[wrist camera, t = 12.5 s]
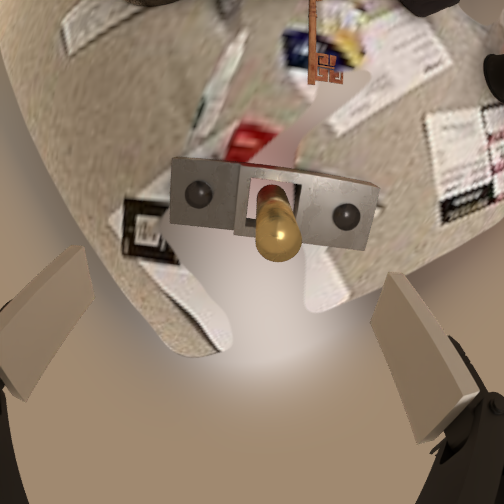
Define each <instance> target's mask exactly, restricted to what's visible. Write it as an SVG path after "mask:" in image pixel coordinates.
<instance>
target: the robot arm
mask: <svg viewBox="0 0 504 504" xmlns="http://www.w3.org/2000/svg"><path fill="white" fill-rule="evenodd" d="M125 1H127V2H129V3H131V4H134V5H140V6H157V5H163V4H168V3H171V2H175V1H178V0H125ZM94 299H95V295H94V291H93V287H92V282H91V278H90V273H89V269H88V264H87V259H86V253H85V248H84V246H76V245H71V246H69V247H68V248H67V249H66V250H65V251H64V252H63V253H61V254H60V255H59V256H58V257H57V258H56V259H54V260H53V261H52V262H51V263H50V264H49V265H48V266H47V267H46V268H45V269H43V270H42V271H41V272H40V273H39V274H38V275H37V276H36V277H35V278H34V279H33V280H32V281H31V282H30V283H28V284H27V285H26V286H25V287H24V288H23V289H22V290H21V291H20V292H19V293H18V294H17V296H15V297H14V298H13V299H12V300H10V301H9V302H7V303H6V304H5V305H4V306H3V307H2V308H1V310H0V504H29V502H28V499H27V496H26V493H25V490H24V487H23V484H22V480H21V477H20V473H19V470H18V466H17V462H16V458H15V453H14V449H13V445H12V440H11V433H10V427H9V421H8V413H7V405H6V397H5V393H4V392H3V390H2V389H3V388H4V386H6V387H7V388H8V390H9V391H10V392H11V394H12V395H13V396H15V397H16V398H18V399H20V400H22V401H24V402H27V400H28V398H29V396H30V395H31V393H32V391H33V389H34V388H35V386H36V385H37V383H38V381H39V380H40V378H41V376H42V374H43V373H44V371H45V370H46V368H47V366H48V365H49V363H50V362H51V360H52V359H53V357H54V356H55V354H56V353H57V351H58V349H59V348H60V347H61V345H62V343H63V342H64V341H65V339H66V338H67V336H68V335H69V333H70V332H71V330H72V329H73V328H74V326H75V325H76V323H77V322H78V320H79V319H80V318H81V316H82V315H83V314H84V312H85V311H86V309H87V308H88V307H89V305H90V304H91V303H92V301H93V300H94ZM370 324H371V326H372V328H373V331H374V333H375V336H376V338H377V340H378V342H379V345H380V347H381V349H382V352H383V354H384V357H385V359H386V361H387V364H388V366H389V369H390V371H391V374H392V376H393V379H394V381H395V384H396V387H397V389H398V392H399V394H400V397H401V400H402V403H403V405H404V408H405V411H406V414H407V417H408V419H409V422H410V425H411V428H412V431H413V434H414V437H415V440H416V443H417V445H418V444H422V443H425V442H429V441H432V440H434V439H435V438H437V437H438V436H439V435H440V434H441V433H442V432H443V431H444V433H445V436H446V437H445V438H444V439H443V440H442V441H441V442H440V443H439V444H438V445H436V446H435V447H434V448H433V449H432V450H431V452H430V454H433V453H434V452H435V451H436V450H438V449H439V450H438V453H437V454H436V455H435V456H436V458H435V461H434V463H433V466H432V469H431V471H430V473H429V476H428V478H427V480H426V482H425V484H424V487H423V489H422V491H421V493H420V495H419V497H418V499H417V501H416V503H415V504H504V397H503V396H502V395H501V394H499V393H496V392H488V391H487V389H486V387H485V386H484V384H483V382H482V380H481V379H480V377H479V375H478V373H477V372H476V370H475V369H474V367H473V365H472V364H470V360H469V359H468V357H467V356H465V352H464V351H463V349H462V348H461V346H460V344H459V343H458V342H457V341H455V340H454V339H453V338H452V337H451V336H447V335H446V333H445V332H444V330H443V329H442V327H441V326H440V324H439V323H438V321H437V320H436V318H435V317H434V315H433V314H432V312H431V311H430V310H429V308H428V307H427V305H426V304H425V303H424V301H423V300H422V298H421V297H420V296H419V294H418V293H417V292H416V290H415V289H414V287H413V286H412V285H411V283H410V282H409V281H408V279H407V278H406V277H405V276H404V274H403V273H394V272H388V274H387V277H386V280H385V283H384V286H383V289H382V291H381V294H380V297H379V300H378V303H377V305H376V308H375V310H374V313H373V316H372V318H371V321H370Z"/></svg>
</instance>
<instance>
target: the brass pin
mask: <svg viewBox="0 0 504 504" xmlns="http://www.w3.org/2000/svg"><path fill="white" fill-rule="evenodd" d="M256 210H257V211H256V247H257V250H258V252H259V253H260V254H261V255H262V256H263V257H264V258H265V259H267V260H270V261H273V262H283V261H287V260H289V259H291V258H293V257H294V256H295V255H296V254H297V253H298V251H299V250H300V247H301V244H302V236H301V233H300V230H299V227H298V225H297V222H296V219H295V217H294V214H293V211H292V209H291V206H290V203H289V201H288V198H287V196H286V193H285V191H284V190H283V189H282V188H281V187H279V186H277V185H267V186H264V187H263V188H262V189H261V190H260V191H259V193H258V195H257V209H256Z"/></svg>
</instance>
